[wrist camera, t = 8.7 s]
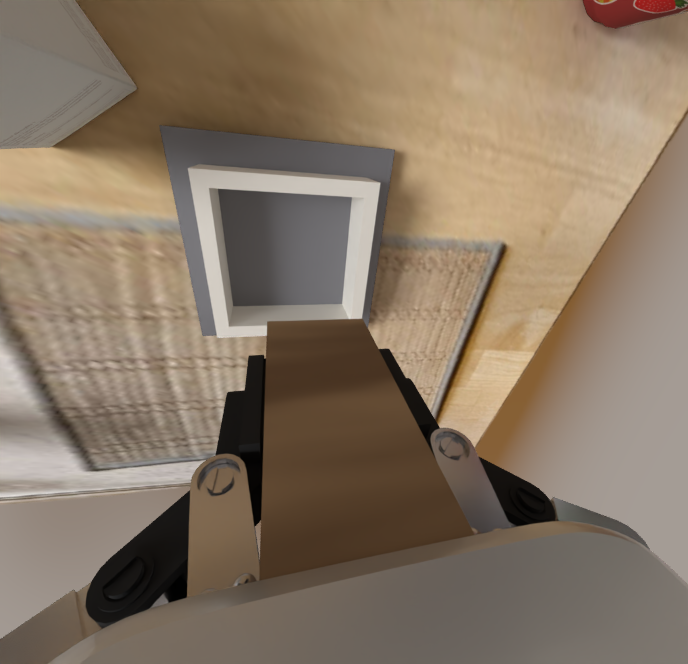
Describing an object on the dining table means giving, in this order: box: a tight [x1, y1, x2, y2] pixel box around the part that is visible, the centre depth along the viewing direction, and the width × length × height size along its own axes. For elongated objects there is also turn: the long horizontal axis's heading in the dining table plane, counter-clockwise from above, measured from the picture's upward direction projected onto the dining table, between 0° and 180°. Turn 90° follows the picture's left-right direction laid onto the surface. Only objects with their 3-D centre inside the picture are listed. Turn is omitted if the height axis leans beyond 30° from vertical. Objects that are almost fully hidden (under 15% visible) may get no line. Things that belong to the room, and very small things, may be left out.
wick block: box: [259, 319, 475, 581], centre depth 10 cm, size 4×4×9 cm
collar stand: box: [159, 125, 395, 338], centre depth 24 cm, size 16×16×5 cm
